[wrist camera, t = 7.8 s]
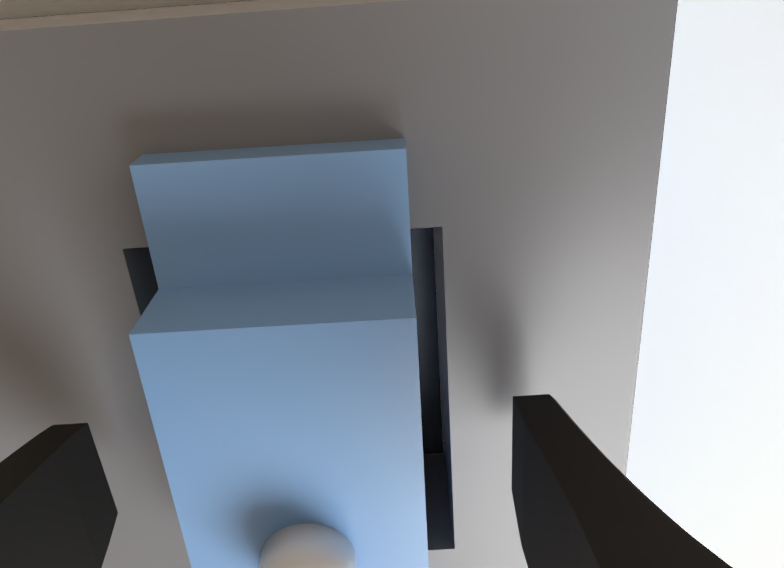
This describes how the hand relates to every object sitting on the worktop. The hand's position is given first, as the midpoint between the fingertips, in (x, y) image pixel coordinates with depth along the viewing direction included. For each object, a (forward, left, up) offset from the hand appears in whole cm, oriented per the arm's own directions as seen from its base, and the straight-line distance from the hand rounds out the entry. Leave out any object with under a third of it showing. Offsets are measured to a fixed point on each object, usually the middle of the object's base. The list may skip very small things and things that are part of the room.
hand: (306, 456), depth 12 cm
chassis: (0, 0, -4) cm, 4 cm away
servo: (0, 0, -4) cm, 4 cm away
